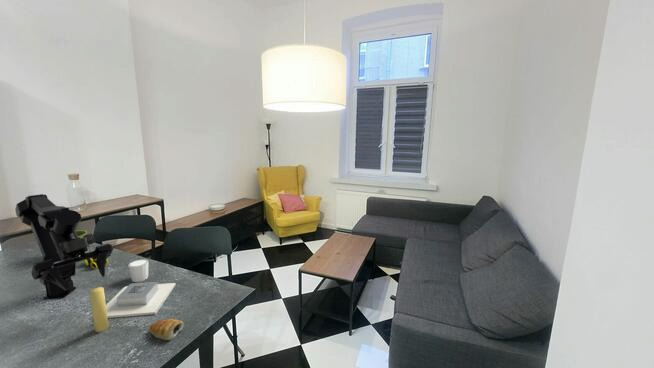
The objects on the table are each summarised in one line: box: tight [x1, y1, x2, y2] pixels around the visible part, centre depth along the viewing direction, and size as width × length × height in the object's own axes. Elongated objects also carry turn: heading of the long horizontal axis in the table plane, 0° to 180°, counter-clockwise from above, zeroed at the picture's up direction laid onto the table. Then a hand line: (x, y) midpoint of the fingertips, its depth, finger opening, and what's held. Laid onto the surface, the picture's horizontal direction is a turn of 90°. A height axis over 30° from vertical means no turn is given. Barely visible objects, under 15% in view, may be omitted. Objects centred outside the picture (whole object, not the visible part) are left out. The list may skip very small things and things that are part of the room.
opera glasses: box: [83, 257, 109, 270], centre depth 120 cm, size 10×5×5 cm, turn 66°
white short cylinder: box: [127, 258, 149, 283], centre depth 110 cm, size 7×7×7 cm
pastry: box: [148, 318, 184, 341], centre depth 81 cm, size 9×7×4 cm
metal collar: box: [117, 281, 159, 307], centre depth 96 cm, size 9×9×4 cm
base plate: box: [106, 282, 176, 319], centre depth 96 cm, size 18×18×1 cm
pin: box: [89, 286, 110, 333], centre depth 81 cm, size 3×3×13 cm
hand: (86, 282), depth 83 cm, fingers open, 9 cm apart
